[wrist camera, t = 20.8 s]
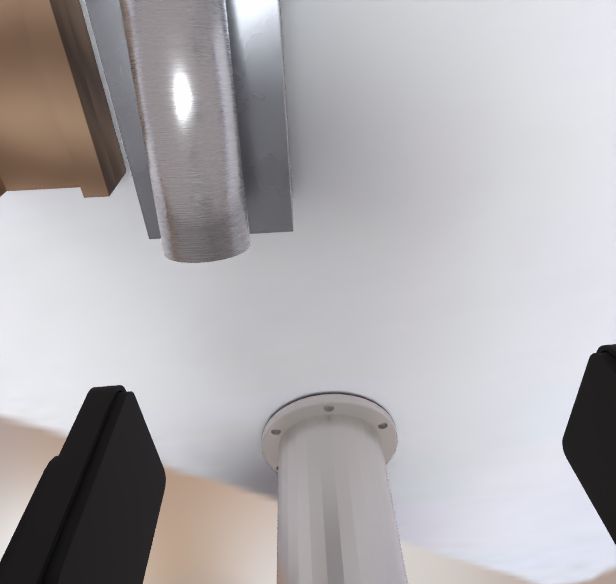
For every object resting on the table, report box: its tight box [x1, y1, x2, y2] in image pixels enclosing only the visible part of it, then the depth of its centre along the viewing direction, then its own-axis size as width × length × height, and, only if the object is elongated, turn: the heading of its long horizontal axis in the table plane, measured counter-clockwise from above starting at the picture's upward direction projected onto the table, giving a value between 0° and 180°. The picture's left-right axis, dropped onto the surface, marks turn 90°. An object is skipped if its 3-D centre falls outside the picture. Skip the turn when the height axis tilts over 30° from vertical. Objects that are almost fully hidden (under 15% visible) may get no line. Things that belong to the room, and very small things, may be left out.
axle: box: [119, 0, 250, 263], centre depth 20 cm, size 14×4×4 cm, turn 2°
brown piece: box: [0, 0, 126, 198], centre depth 24 cm, size 14×8×4 cm, turn 2°
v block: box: [85, 0, 293, 239], centre depth 25 cm, size 14×8×5 cm, turn 2°
